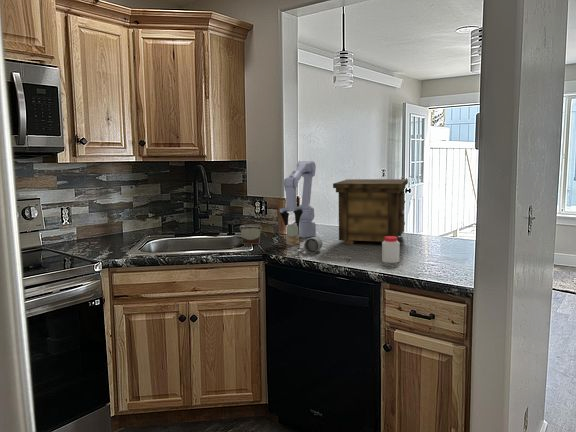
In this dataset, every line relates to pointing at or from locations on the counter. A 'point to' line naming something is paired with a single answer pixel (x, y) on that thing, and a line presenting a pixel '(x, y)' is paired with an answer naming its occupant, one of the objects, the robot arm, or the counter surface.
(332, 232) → the counter surface
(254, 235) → the food container
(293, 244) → the slab lower
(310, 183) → the robot arm
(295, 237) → the slab upper
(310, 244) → the ceramic mug
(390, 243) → the pill bottle
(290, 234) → the sage block
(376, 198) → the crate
